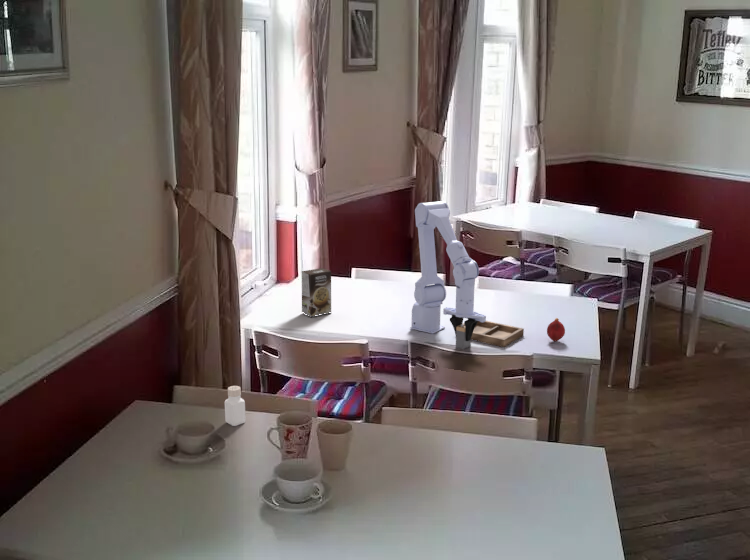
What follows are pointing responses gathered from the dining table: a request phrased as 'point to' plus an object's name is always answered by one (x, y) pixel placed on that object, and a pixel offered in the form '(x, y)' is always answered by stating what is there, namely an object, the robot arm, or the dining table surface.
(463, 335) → the battery cell
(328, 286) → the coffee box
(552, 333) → the onion
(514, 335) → the walnut tray
